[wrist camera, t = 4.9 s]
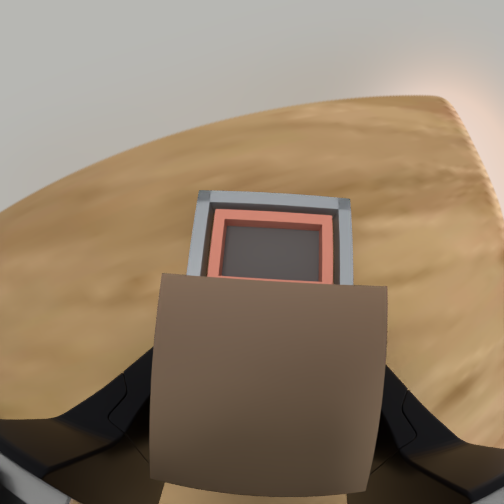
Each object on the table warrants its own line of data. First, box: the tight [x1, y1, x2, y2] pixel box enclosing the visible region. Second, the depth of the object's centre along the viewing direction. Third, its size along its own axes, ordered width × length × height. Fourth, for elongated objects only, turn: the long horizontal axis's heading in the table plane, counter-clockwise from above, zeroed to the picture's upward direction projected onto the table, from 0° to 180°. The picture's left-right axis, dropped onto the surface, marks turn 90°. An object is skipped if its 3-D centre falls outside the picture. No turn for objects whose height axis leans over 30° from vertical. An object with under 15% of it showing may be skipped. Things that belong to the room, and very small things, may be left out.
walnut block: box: [149, 273, 388, 497], centre depth 10 cm, size 4×4×11 cm
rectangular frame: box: [207, 209, 333, 284], centre depth 22 cm, size 6×9×2 cm, turn 86°
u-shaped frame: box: [187, 190, 353, 285], centre depth 20 cm, size 18×12×2 cm, turn 176°
